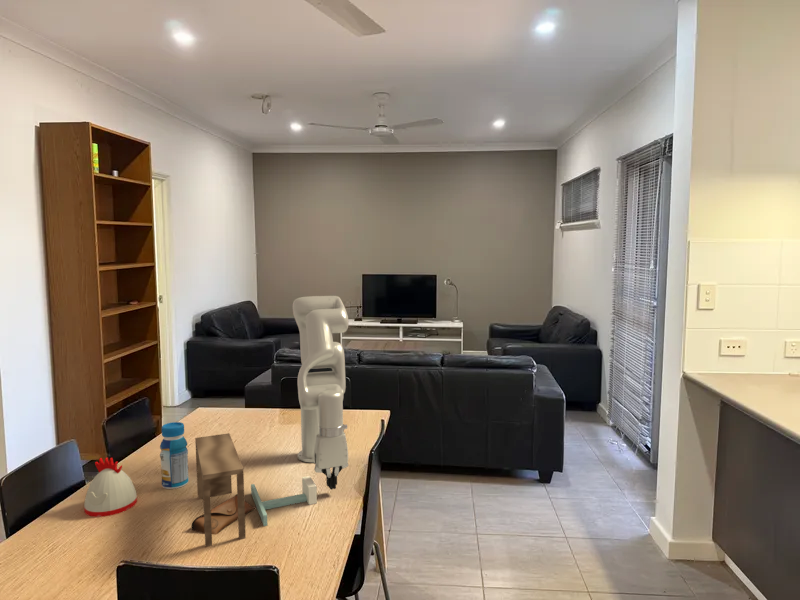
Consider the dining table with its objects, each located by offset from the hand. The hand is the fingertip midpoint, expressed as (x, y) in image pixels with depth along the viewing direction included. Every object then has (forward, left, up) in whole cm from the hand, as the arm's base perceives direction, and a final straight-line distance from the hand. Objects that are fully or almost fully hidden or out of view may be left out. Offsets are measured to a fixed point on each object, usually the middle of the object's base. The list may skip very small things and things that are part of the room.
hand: (331, 487), depth 166 cm
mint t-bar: (+15, 0, -2) cm, 15 cm away
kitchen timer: (+62, -21, -3) cm, 66 cm away
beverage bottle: (+44, -29, -3) cm, 53 cm away
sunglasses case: (+32, +2, -3) cm, 32 cm away
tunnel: (+33, 0, -2) cm, 34 cm away
